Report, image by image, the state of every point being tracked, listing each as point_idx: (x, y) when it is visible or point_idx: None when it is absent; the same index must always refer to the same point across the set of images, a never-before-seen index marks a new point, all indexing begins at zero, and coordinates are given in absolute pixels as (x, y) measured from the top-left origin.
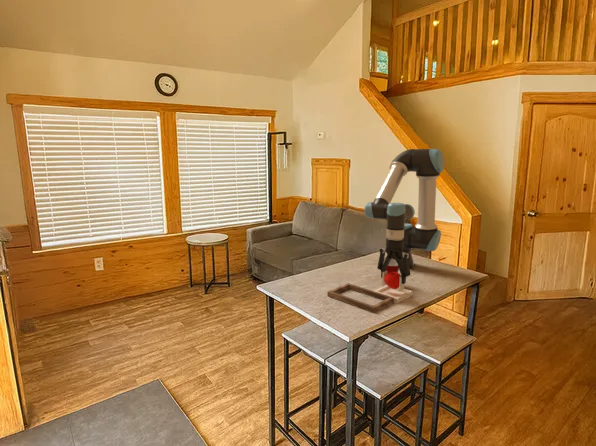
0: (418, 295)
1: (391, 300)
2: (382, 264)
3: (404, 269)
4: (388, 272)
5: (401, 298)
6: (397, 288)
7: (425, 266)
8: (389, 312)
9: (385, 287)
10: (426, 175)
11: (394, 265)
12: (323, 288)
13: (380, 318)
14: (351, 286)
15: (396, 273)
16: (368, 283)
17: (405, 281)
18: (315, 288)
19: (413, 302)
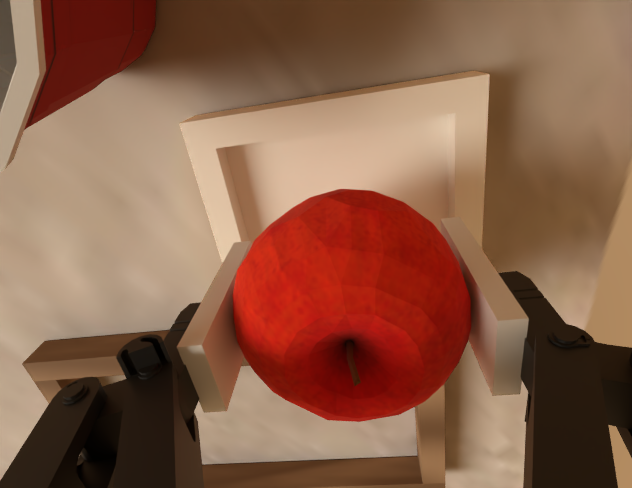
0: (529, 9)
1: None
2: (76, 455)
3: (603, 438)
4: (57, 105)
5: None
6: (318, 132)
7: None
8: (503, 422)
9: (234, 213)
10: None
11: (37, 85)
12: (18, 440)
13: (504, 484)
14: (83, 373)
15: (368, 327)
16: (13, 172)
17: (534, 292)
18: (5, 462)
19: (562, 203)
